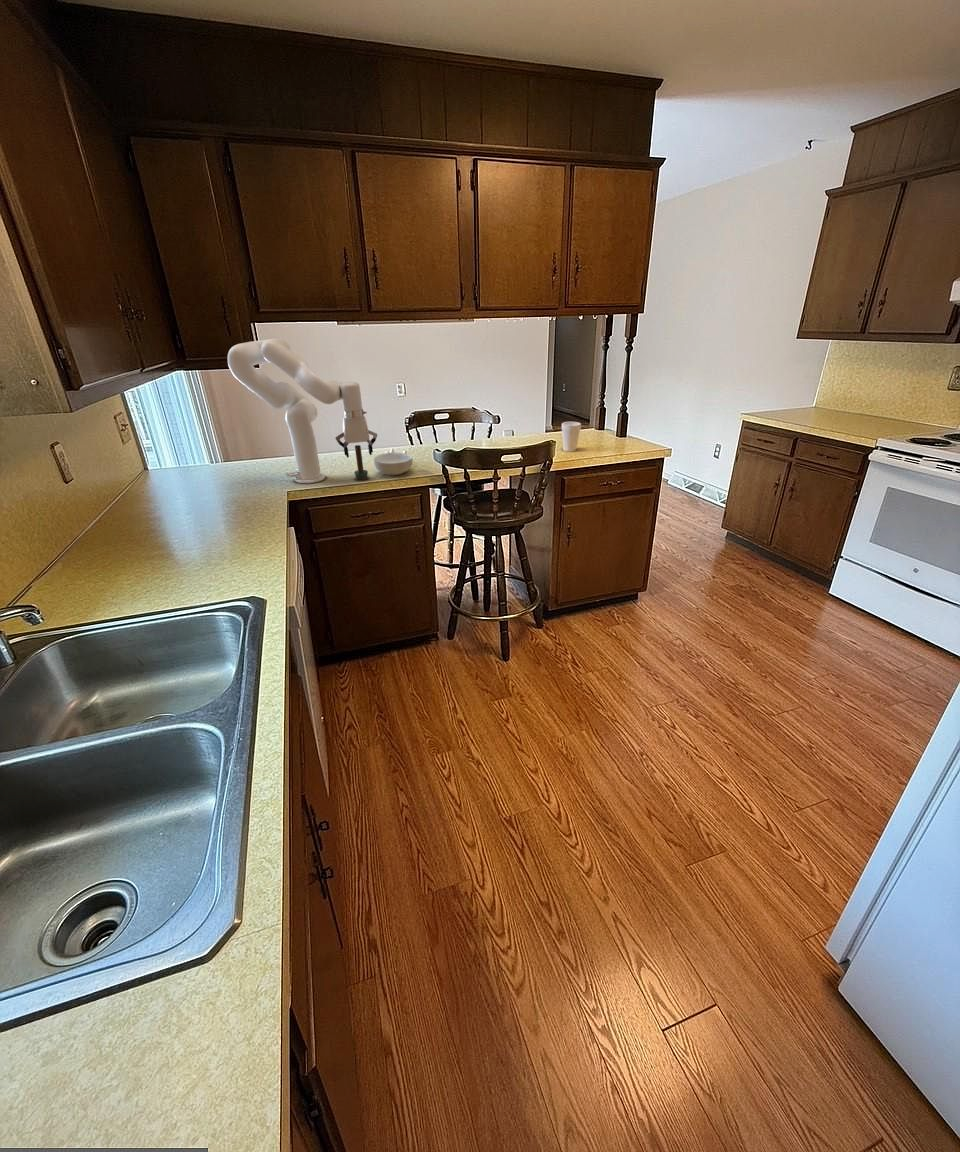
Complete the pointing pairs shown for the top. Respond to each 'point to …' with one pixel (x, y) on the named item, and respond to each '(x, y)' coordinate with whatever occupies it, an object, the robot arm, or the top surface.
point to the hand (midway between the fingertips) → (359, 455)
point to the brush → (360, 465)
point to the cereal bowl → (393, 463)
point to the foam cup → (570, 435)
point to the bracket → (394, 452)
